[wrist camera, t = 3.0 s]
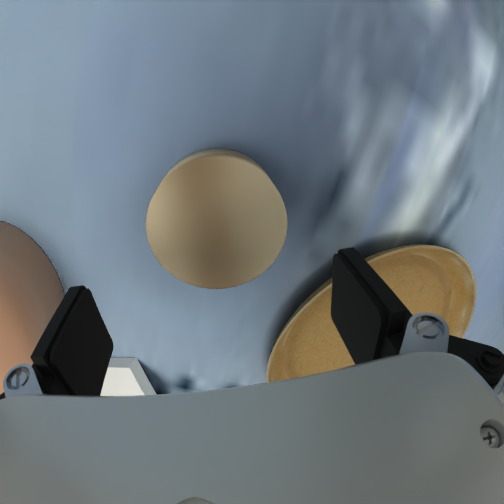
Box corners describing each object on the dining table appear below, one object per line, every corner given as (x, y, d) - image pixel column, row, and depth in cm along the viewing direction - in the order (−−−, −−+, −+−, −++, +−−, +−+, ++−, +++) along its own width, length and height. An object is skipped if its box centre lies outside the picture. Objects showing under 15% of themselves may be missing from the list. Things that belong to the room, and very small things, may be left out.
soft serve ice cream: (75, 398, 32) (25, 470, 19) (88, 320, 28) (6, 405, 14) (156, 442, 33) (124, 526, 20) (193, 377, 29) (152, 493, 15)
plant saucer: (481, 219, 25) (502, 233, 22) (428, 373, 36) (438, 389, 34) (251, 247, 23) (257, 270, 20) (266, 415, 35) (270, 436, 32)
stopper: (262, 134, 19) (283, 150, 13) (269, 230, 22) (289, 279, 17) (157, 149, 19) (132, 171, 13) (175, 243, 22) (163, 296, 16)
